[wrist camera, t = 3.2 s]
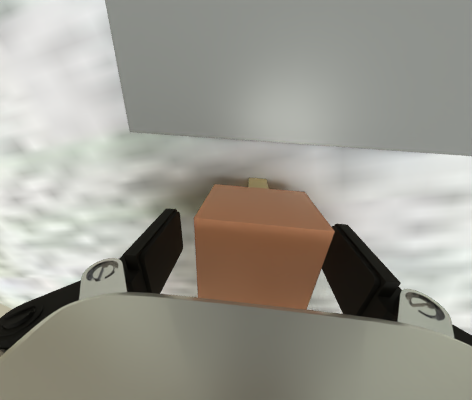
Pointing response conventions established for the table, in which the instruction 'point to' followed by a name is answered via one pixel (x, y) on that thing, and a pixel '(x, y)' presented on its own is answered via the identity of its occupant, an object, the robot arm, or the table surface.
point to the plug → (259, 245)
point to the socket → (299, 71)
